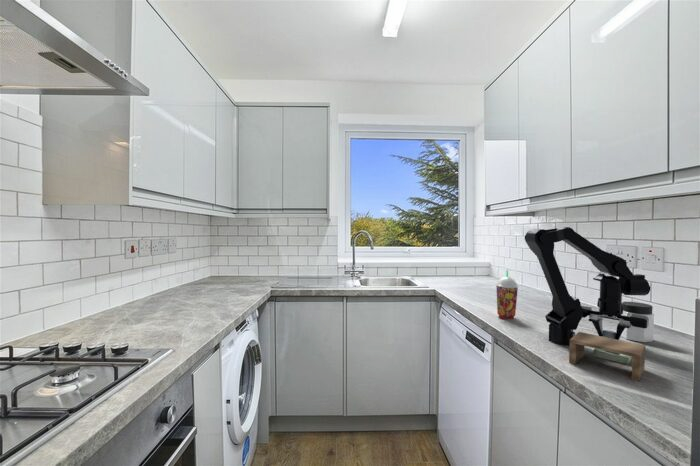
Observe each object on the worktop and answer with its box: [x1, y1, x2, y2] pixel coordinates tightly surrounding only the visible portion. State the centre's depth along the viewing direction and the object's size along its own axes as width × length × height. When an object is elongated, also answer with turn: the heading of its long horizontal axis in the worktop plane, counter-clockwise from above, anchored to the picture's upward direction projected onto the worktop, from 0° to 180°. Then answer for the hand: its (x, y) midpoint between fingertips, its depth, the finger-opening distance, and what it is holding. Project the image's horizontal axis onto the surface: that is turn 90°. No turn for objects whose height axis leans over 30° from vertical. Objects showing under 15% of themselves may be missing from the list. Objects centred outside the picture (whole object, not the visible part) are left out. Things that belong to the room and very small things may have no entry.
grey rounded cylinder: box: [603, 329, 616, 339], centre depth 110 cm, size 3×3×4 cm
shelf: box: [568, 331, 646, 382], centre depth 92 cm, size 15×10×7 cm, turn 43°
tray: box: [592, 348, 632, 365], centre depth 100 cm, size 8×12×3 cm, turn 133°
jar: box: [620, 301, 655, 343], centre depth 117 cm, size 9×8×12 cm
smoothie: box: [495, 270, 519, 320], centre depth 142 cm, size 8×8×20 cm
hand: (608, 342), depth 110 cm, fingers closed on grey rounded cylinder, 3 cm apart
